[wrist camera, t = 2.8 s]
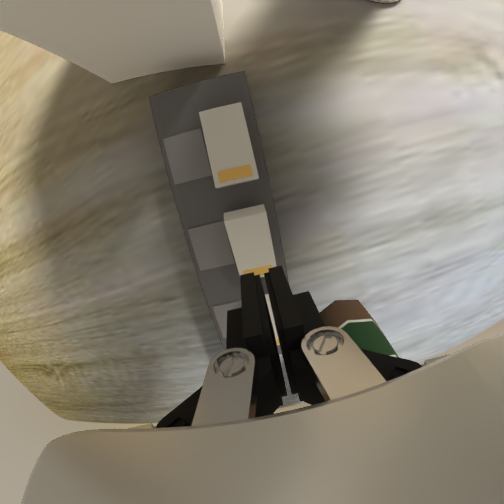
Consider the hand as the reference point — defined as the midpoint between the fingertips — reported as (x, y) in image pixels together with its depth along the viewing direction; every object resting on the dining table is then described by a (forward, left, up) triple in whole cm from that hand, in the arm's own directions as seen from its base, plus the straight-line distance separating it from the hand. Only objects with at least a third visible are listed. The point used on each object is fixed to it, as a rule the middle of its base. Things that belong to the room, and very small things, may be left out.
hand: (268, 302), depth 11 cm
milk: (-21, -4, -18) cm, 28 cm away
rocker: (-6, 0, -13) cm, 14 cm away
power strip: (+3, -2, -18) cm, 18 cm away
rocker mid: (+2, 0, -13) cm, 13 cm away
